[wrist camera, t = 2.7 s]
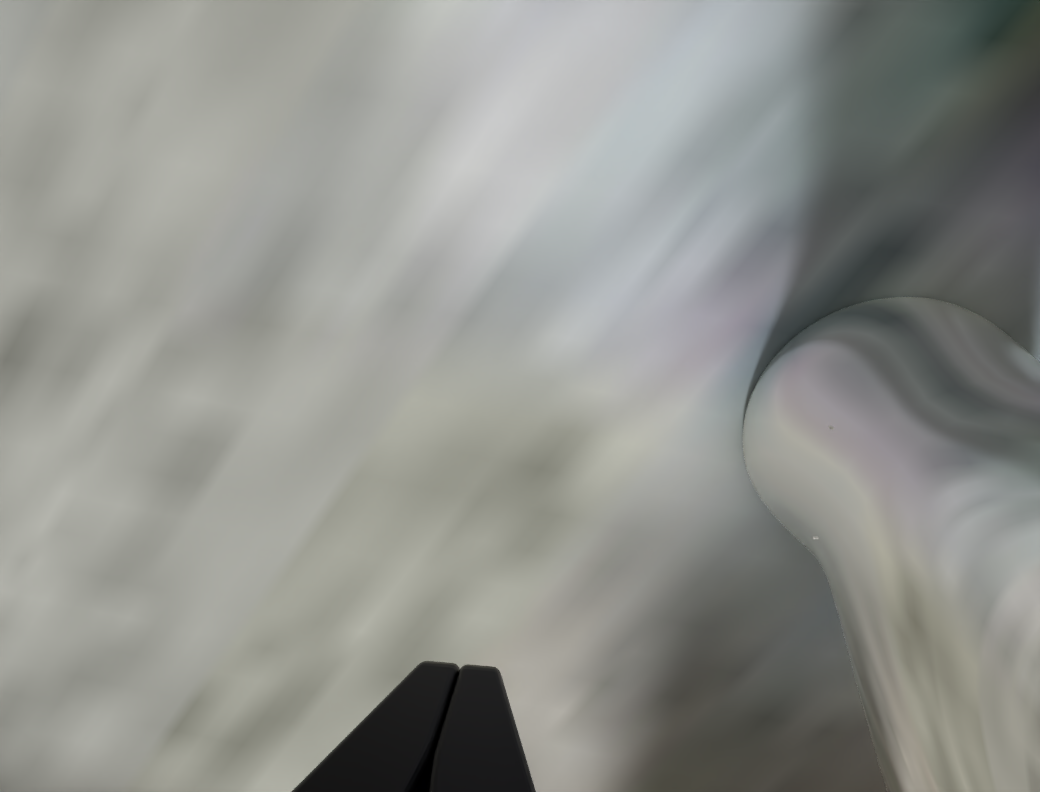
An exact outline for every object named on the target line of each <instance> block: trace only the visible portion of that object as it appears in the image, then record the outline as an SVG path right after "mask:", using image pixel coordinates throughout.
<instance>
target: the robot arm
mask: <svg viewBox="0 0 1040 792" xmlns="http://www.w3.org/2000/svg"><path fill="white" fill-rule="evenodd" d="M292 792H536V791H535V788H534V784H533V781H532V778H531V774H530V771H529V767H528V764H527V761H526V757H525V754H524V751H523V747H522V744H521V741H520V737H519V734H518V730H517V727H516V724H515V720H514V717H513V714H512V710H511V707H510V703H509V700H508V697H507V693H506V690H505V687H504V683H503V680H502V677H501V673H500V671H499V670H498V669H497V668H496V667H490V666H479V665H464V666H462V668H461V669H459V667H458V666H457V665H456V664H454V663H445V662H433V661H424V662H422V663H420V664H419V665H418V666H417V667H416V668H415V669H414V670H413V671H412V672H411V673H410V674H409V675H408V676H407V677H406V678H405V679H404V680H403V681H402V682H401V683H400V684H399V685H398V686H397V687H396V688H395V689H394V690H393V691H392V692H391V693H390V694H389V695H388V696H387V697H386V698H385V699H384V700H383V701H382V702H381V703H380V704H379V705H378V706H377V707H376V708H375V709H374V710H373V711H372V712H371V713H370V714H369V715H368V716H367V717H366V718H365V719H364V720H363V721H362V722H361V723H360V724H359V725H358V726H357V727H356V728H355V729H354V730H353V731H352V732H351V733H350V734H349V735H348V736H347V737H346V738H345V739H344V740H343V741H342V742H341V743H340V744H339V745H338V746H337V747H336V748H335V749H334V750H333V751H332V752H331V753H330V754H329V755H328V756H327V757H326V758H325V759H324V760H323V761H322V762H321V763H320V764H319V765H318V766H317V767H316V768H315V769H314V770H313V771H312V772H311V773H310V774H309V775H308V776H307V777H306V778H305V779H304V780H303V781H302V782H301V783H300V784H299V785H298V786H297V787H296V788H295V789H294V790H293V791H292Z"/></svg>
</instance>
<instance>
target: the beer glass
mask: <svg viewBox="0 0 1040 792" xmlns="http://www.w3.org/2000/svg"><path fill="white" fill-rule="evenodd" d="M743 455H744V461H745V465H746V469H747V472H748V475H749V478H750V480H751V482H752V484H753V486H754V488H755V490H756V492H757V494H758V495H759V497H760V498H761V500H762V501H763V503H764V504H765V505H766V507H767V508H768V509H769V511H770V512H771V513H772V514H773V515H774V517H775V518H776V519H777V520H778V521H779V522H780V523H781V524H782V525H783V526H784V527H785V528H786V529H787V530H788V531H789V532H790V533H791V534H792V535H793V536H794V537H795V538H796V539H797V540H798V541H800V542H801V543H802V544H803V545H804V546H805V547H806V548H807V549H808V550H809V551H810V552H811V553H812V554H813V555H814V556H815V557H816V558H817V559H818V561H819V563H820V565H821V567H822V569H823V571H824V574H825V576H826V578H827V580H828V583H829V586H830V590H831V593H832V596H833V600H834V603H835V606H836V609H837V613H838V616H839V619H840V623H841V627H842V631H843V635H844V639H845V643H846V646H847V650H848V654H849V658H850V662H851V666H852V670H853V673H854V677H855V681H856V685H857V688H858V692H859V696H860V699H861V703H862V706H863V710H864V714H865V717H866V721H867V724H868V728H869V732H870V735H871V739H872V743H873V746H874V750H875V753H876V757H877V761H878V764H879V768H880V771H881V774H882V777H883V780H884V783H885V786H886V789H887V792H1040V361H1038V360H1037V359H1036V358H1035V357H1033V356H1032V355H1031V354H1030V353H1029V352H1028V351H1026V350H1025V349H1024V348H1023V347H1022V346H1021V345H1019V344H1018V343H1017V342H1016V341H1015V340H1014V339H1012V338H1011V337H1010V336H1009V335H1007V334H1006V333H1005V332H1004V331H1002V330H1001V329H1000V328H998V327H997V326H996V325H994V324H993V323H991V322H990V321H988V320H987V319H985V318H983V317H982V316H980V315H978V314H976V313H974V312H972V311H969V310H967V309H965V308H963V307H960V306H958V305H955V304H952V303H948V302H945V301H940V300H936V299H930V298H921V297H891V298H882V299H875V300H870V301H866V302H862V303H858V304H854V305H851V306H848V307H846V308H843V309H840V310H838V311H836V312H833V313H831V314H829V315H827V316H825V317H823V318H821V319H820V320H818V321H816V322H815V323H813V324H811V325H810V326H808V327H807V328H805V329H804V330H803V331H801V332H800V333H799V334H797V335H796V336H795V337H794V338H793V339H791V340H790V341H789V342H788V343H787V344H786V345H785V346H784V347H783V348H782V349H781V350H780V351H779V352H778V353H777V354H776V355H775V357H774V358H773V359H772V360H771V361H770V363H769V364H768V366H767V367H766V368H765V370H764V371H763V373H762V375H761V376H760V378H759V380H758V382H757V383H756V385H755V387H754V390H753V392H752V394H751V397H750V400H749V403H748V406H747V409H746V413H745V418H744V424H743Z"/></svg>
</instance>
